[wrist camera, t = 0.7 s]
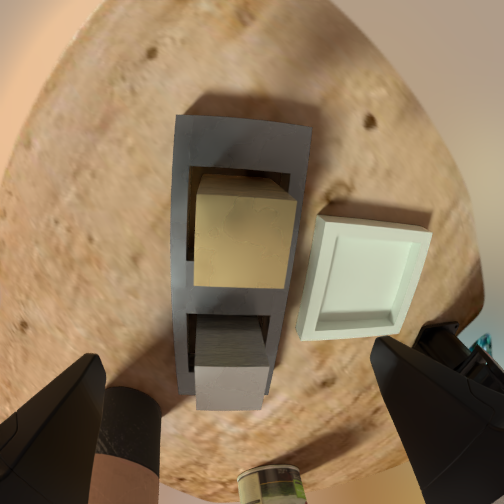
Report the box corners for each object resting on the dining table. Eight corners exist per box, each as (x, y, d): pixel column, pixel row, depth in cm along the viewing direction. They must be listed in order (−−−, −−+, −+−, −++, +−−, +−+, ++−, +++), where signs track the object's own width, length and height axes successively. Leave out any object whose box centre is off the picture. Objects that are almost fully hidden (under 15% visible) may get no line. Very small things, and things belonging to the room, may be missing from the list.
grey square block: (254, 305, 23) (269, 366, 17) (249, 347, 25) (260, 409, 19) (197, 303, 23) (194, 366, 16) (198, 347, 24) (196, 410, 18)
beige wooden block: (269, 178, 20) (297, 201, 13) (262, 240, 21) (283, 288, 15) (203, 173, 19) (196, 194, 13) (199, 237, 21) (193, 285, 14)
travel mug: (109, 423, 28) (88, 568, 9) (88, 381, 25) (45, 552, 6) (169, 427, 29) (169, 583, 10) (156, 386, 26) (143, 580, 7)
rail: (301, 127, 18) (312, 127, 16) (264, 376, 27) (267, 394, 24) (180, 117, 17) (176, 114, 15) (180, 375, 25) (178, 394, 23)
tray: (420, 225, 22) (432, 232, 21) (390, 322, 26) (398, 333, 24) (317, 214, 21) (325, 221, 19) (295, 327, 25) (300, 340, 23)
